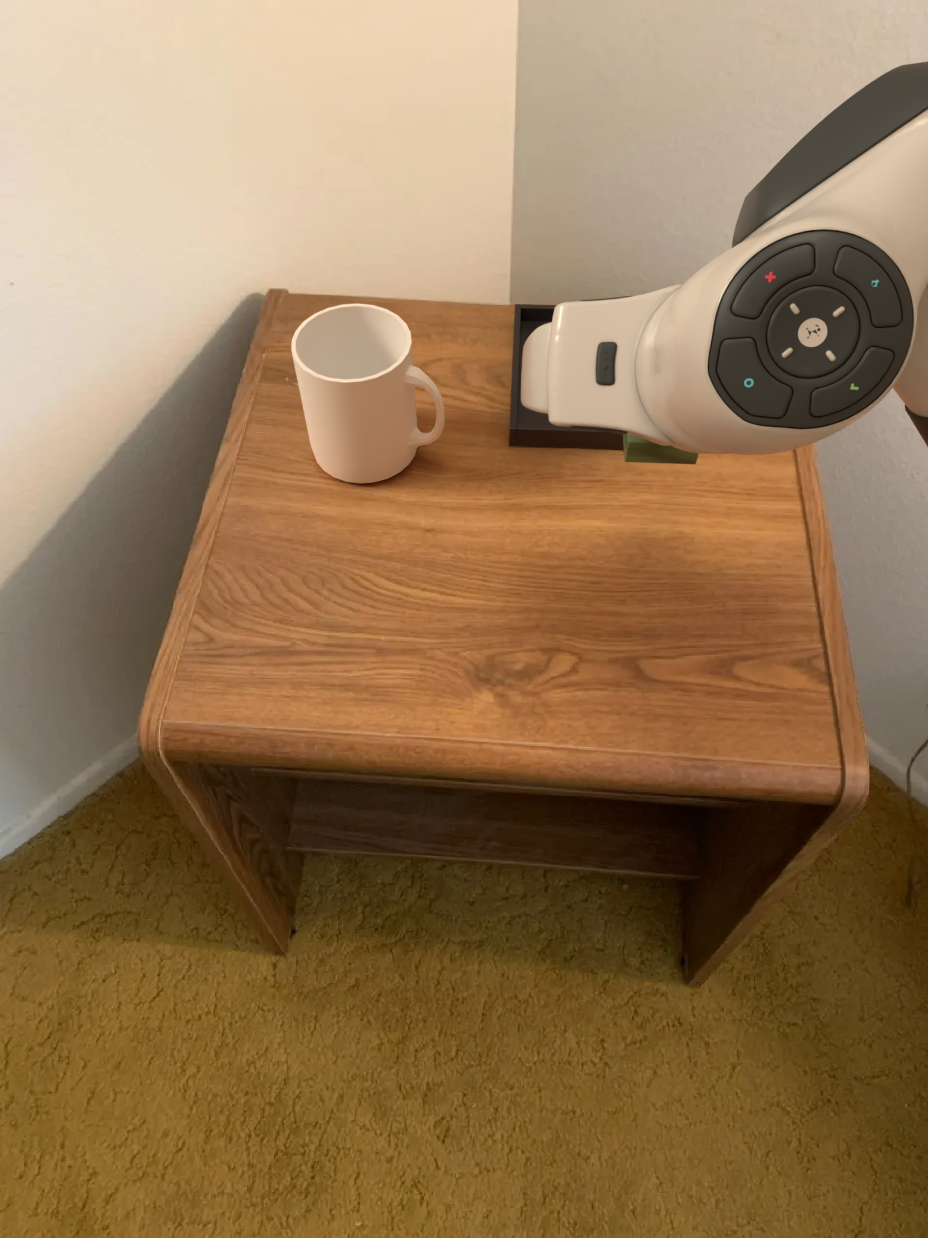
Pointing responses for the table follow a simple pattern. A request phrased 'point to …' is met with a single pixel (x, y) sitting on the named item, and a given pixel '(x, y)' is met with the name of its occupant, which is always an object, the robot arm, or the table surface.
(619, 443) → the black tray
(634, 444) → the scrub brush
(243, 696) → the table surface
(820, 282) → the robot arm
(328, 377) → the mug
